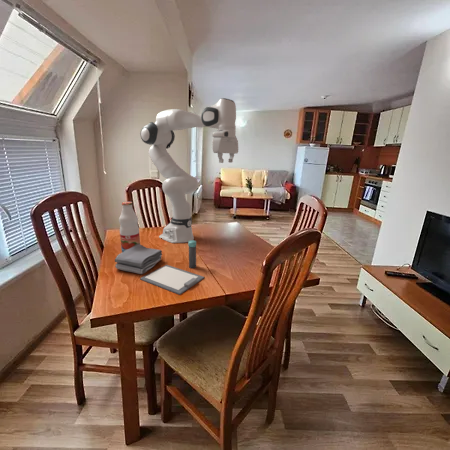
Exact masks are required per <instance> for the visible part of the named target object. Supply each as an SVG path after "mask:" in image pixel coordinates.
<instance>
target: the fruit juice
mask: <svg viewBox="0 0 450 450" xmlns="http://www.w3.org/2000/svg"><path fill="white" fill-rule="evenodd" d="M121 207H122V209H121V213H120V216H119V217H118V222H119V225H120V227H119V238H120V249H121V253H122V252H124V251H126V250H128V249H130V248H132V247H133V246H135V245H136V244H140V245H141V237H140V235H141V234H140V228H139V224H138V222H139V218H138V215H137V214H136V212H135V210H134V208H133V202H132V201H123V202H121Z"/></svg>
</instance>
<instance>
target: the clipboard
mask: <svg viewBox="0 0 450 450" xmlns="http://www.w3.org/2000/svg"><path fill="white" fill-rule="evenodd" d="M203 279H205V276H204V275H203V276H202V275H200V274H196V273H194V272H190V271H187V270H184V269H181V268H178V267H174V266H173V265H168V264H165V265H164V266H161V267H159V268H157V269H156V270H154V271H152V272H149V273H148V274H146V275H143V276H142V277H140V278H139V281H140V280H141V281H143V282H145V283H148V284H151V285H153V286H156V287H158V288H161V289H164V290H166V291H169V292H172V293H173V294H176V295H182V294H183V293H185V292H187V291H188V290H189V289H190V288H192V287H194V286H195V285H196V284H199V282H200V281H202V280H203Z"/></svg>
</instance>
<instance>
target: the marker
mask: <svg viewBox="0 0 450 450" xmlns="http://www.w3.org/2000/svg"><path fill="white" fill-rule="evenodd" d="M187 245H188V267H189V269H195V268H197V240H194V239H193V240H191V241H188V242H187Z"/></svg>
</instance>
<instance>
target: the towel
mask: <svg viewBox="0 0 450 450" xmlns="http://www.w3.org/2000/svg"><path fill="white" fill-rule="evenodd" d="M162 253H163V252H162V250H161V249H157V248H150V247H145V246H144V245H143V244H141V243H140V244H136V245H135V246H133V247H132V248H130V249H128V250H126V251H124V252H122V251H121V253H119V254H117V256H116V257H115V259H114V262H115V263H116V264H115V269H118V270H120V271H124V272H130V273H133V274H138V275H143V274H145V273H147V272H148V271H149V270H151V269H152V268H153V267H155V266H156V264H157V263H159V262H160V261H162V256H163V254H162Z"/></svg>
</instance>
